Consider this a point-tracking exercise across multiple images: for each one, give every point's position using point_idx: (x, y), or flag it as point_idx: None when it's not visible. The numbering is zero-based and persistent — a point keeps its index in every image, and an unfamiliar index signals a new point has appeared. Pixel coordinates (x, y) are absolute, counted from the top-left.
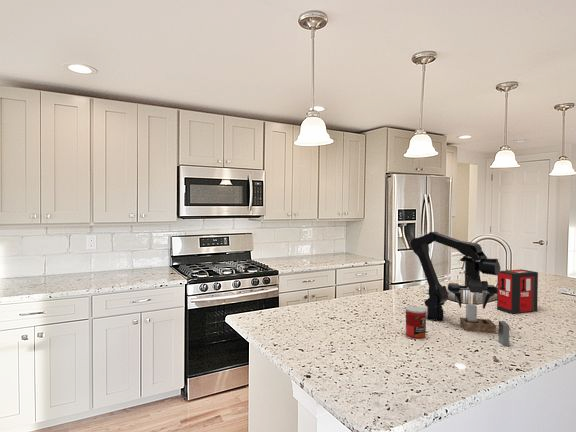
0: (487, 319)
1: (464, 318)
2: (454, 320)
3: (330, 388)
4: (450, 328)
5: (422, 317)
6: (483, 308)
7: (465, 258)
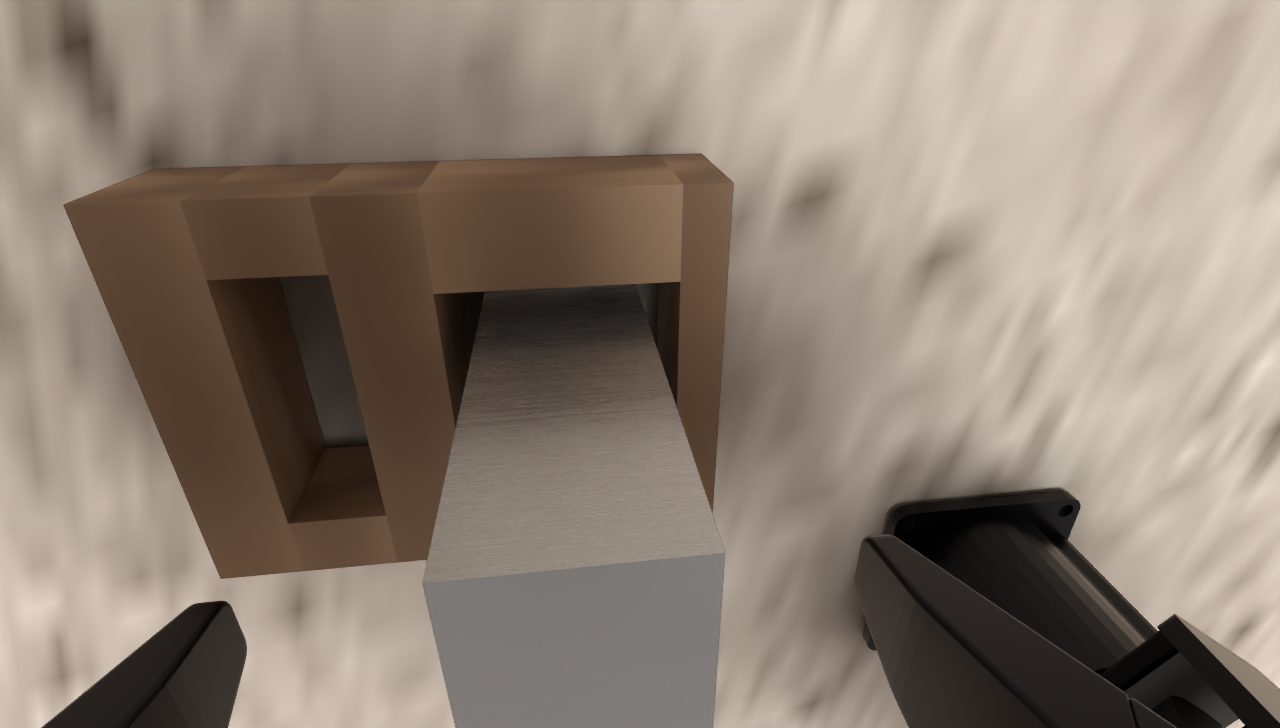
0: (259, 564)
1: None
2: (723, 579)
3: None
4: (905, 208)
5: None
6: (218, 608)
7: None
